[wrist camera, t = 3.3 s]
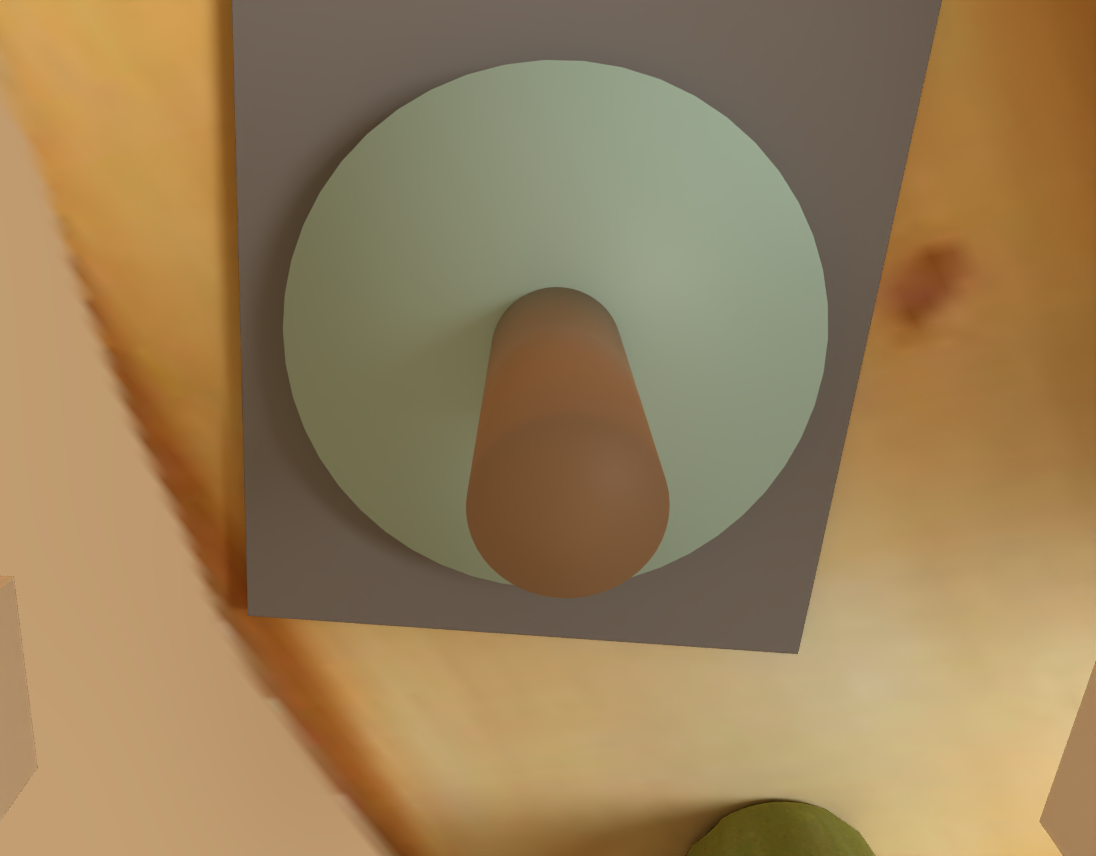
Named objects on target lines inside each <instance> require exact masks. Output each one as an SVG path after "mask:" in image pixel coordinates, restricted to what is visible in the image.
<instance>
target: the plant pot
mask: <svg viewBox="0 0 1096 856" xmlns="http://www.w3.org/2000/svg"><path fill="white" fill-rule="evenodd" d="M686 856H875V854H874V853H873V851H872V850H871V848H870V847H869V845H868V844H867V843H866V841H865V840H864V838H863V837H862V836H861V834H860V833H859V832H858V831H856V830H855V829H854V828H852V827H851V826H850V825H848V824H847V823H845V822H844V821H842V820H841V819H840V818H838V817H837V816H835V815H834V814H832V813H831V812H829V811H828V810H826V809H823V808H820V807H817V806H814V805H810V804H805V803H797V802H770V803H763V804H758V805H754V806H749V807H746V808H743V809H740V810H738V811H735V812H733V813H731V814H729V815H727V816H725V817H723V818H722V819H721V820H720V821H719V822H718V824H717V825H716V826H715V827H714V828H713V829H712V830H711V831H710V832H709V833H708V834H707V835H705V836H704V837H703V838H702V839H700V840H699V841H698V842H696V843H695V844H693V845H692V847H691V848H690V850H689V851H688V853H687V855H686Z"/></svg>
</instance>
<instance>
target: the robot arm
mask: <svg viewBox="0 0 1096 856" xmlns="http://www.w3.org/2000/svg"><path fill="white" fill-rule="evenodd" d="M14 583H15V582H14V577H11V576H0V821H1V819H2V818H3V817H4V815H5V814H6V812H7V811H8V809H9V808H10V807H11V805H12V804H13V802H14V801H15V799H16V798H17V796H18V795H19V794H20V792H21V791H22V789H23V788H24V786H25V785H26V784H27V782H28V781H29V779H30V778H31V776H32V775H33V773H34V772H35V771H36V769H37V768H38V767H37V759H36V751H35V743H34V735H33V727H32V719H31V711H30V703H29V695H28V687H27V679H26V672H25V663H24V655H23V647H22V638H21V631H20V623H19V614H18V606H17V599H16V590H15V584H14ZM1040 823H1041V824H1042V826H1043V827H1044V829H1045V830H1046V832H1047V833H1048V834H1049V836H1050V837H1051V839H1052V840H1053V842H1054V843H1055V845H1056V846H1057V847H1058V849H1059V850H1060V852H1061V853H1062V855H1063V856H1096V662H1095V665H1094V668H1093V671H1092V673H1091V676H1090V679H1089V682H1088V685H1087V688H1086V690H1085V693H1084V696H1083V699H1082V702H1081V705H1080V707H1079V710H1078V713H1077V716H1076V719H1075V722H1074V725H1073V727H1072V730H1071V733H1070V736H1069V739H1068V742H1067V744H1066V747H1065V750H1064V753H1063V756H1062V759H1061V761H1060V764H1059V767H1058V770H1057V773H1056V776H1055V778H1054V781H1053V784H1052V787H1051V790H1050V793H1049V796H1048V798H1047V801H1046V804H1045V807H1044V810H1043V813H1042V815H1041V818H1040Z"/></svg>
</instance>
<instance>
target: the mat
mask: <svg viewBox="0 0 1096 856" xmlns="http://www.w3.org/2000/svg"><path fill="white" fill-rule="evenodd" d="M941 2H942V0H232V21H233V60H234V98H235V137H236V176H237V215H238V254H239V293H240V332H241V371H242V409H243V448H244V487H245V526H246V565H247V604H248V616H260V617H275V618H289V619H303V620H318V621H332V622H346V623H361V624H375V625H389V626H404V627H418V628H432V629H447V630H461V631H475V632H490V633H504V634H518V635H533V636H547V637H561V638H576V639H590V640H604V641H619V642H633V643H647V644H662V645H676V646H690V647H705V648H719V649H733V650H748V651H762V652H776V653H791V654H798V651H799V647H800V642H801V638H802V633H803V629H804V624H805V620H806V615H807V610H808V606H809V601H810V597H811V592H812V588H813V583H814V579H815V574H816V570H817V565H818V560H819V556H820V551H821V547H822V542H823V538H824V533H825V529H826V524H827V520H828V515H829V510H830V506H831V501H832V497H833V492H834V488H835V483H836V479H837V474H838V470H839V465H840V461H841V456H842V451H843V447H844V442H845V438H846V433H847V429H848V424H849V420H850V415H851V411H852V406H853V401H854V397H855V392H856V388H857V383H858V379H859V374H860V370H861V365H862V361H863V356H864V351H865V347H866V342H867V338H868V333H869V329H870V324H871V320H872V315H873V311H874V306H875V302H876V297H877V292H878V288H879V283H880V279H881V274H882V270H883V265H884V261H885V256H886V252H887V247H888V242H889V238H890V233H891V229H892V224H893V220H894V215H895V211H896V206H897V202H898V197H899V192H900V188H901V183H902V179H903V174H904V170H905V165H906V161H907V156H908V152H909V147H910V143H911V138H912V133H913V129H914V124H915V120H916V115H917V111H918V106H919V102H920V97H921V93H922V88H923V83H924V79H925V74H926V70H927V65H928V61H929V56H930V52H931V47H932V43H933V38H934V33H935V29H936V24H937V20H938V15H939V11H940V6H941ZM540 60H566V61H587V62H593V63H599V64H605V65H611V66H617V67H623V68H626V69H629V70H633V71H636V72H639V73H642V74H645V75H648V76H652V77H655V78H658V79H661V80H663V81H665V82H667V83H669V84H671V85H673V86H675V87H677V88H680V89H682V90H684V91H686V92H688V93H690V94H692V95H694V96H696V97H697V98H699V99H700V100H702V101H703V102H705V103H706V104H708V105H709V106H711V107H712V108H714V109H715V110H717V111H718V112H720V113H721V114H723V115H724V116H726V117H727V118H728V119H729V120H731V121H732V122H733V123H734V124H735V125H736V126H737V127H738V128H740V129H741V130H742V131H743V132H744V133H745V134H746V135H747V136H748V137H750V138H751V139H752V140H753V141H754V142H755V143H756V144H757V145H758V146H759V148H760V149H761V150H762V151H763V152H764V154H765V155H766V156H767V157H768V158H769V160H770V161H771V162H772V163H773V164H774V166H775V167H776V168H777V169H778V170H779V172H780V173H781V175H782V176H783V178H784V180H785V181H786V183H787V184H788V186H789V188H790V189H791V191H792V192H793V194H794V196H795V197H796V199H797V200H798V202H799V204H800V207H801V209H802V211H803V213H804V216H805V218H806V220H807V222H808V225H809V227H810V229H811V231H812V234H813V236H814V240H815V243H816V247H817V250H818V254H819V257H820V261H821V264H822V268H823V273H824V280H825V288H826V295H827V302H828V342H827V350H826V357H825V365H824V373H823V376H822V380H821V384H820V388H819V391H818V395H817V399H816V402H815V406H814V408H813V411H812V413H811V416H810V418H809V420H808V423H807V425H806V428H805V430H804V432H803V435H802V437H801V439H800V441H799V442H798V444H797V446H796V448H795V449H794V451H793V453H792V455H791V456H790V458H789V460H788V461H787V463H786V465H785V466H784V468H783V469H782V470H781V472H780V473H779V474H778V476H777V477H776V478H775V480H774V481H773V482H772V484H771V485H770V486H769V488H768V489H767V490H766V492H765V493H764V494H763V495H762V496H761V497H760V498H759V499H758V500H757V501H756V502H755V503H754V504H753V505H752V506H751V507H750V508H749V509H748V510H747V511H746V512H745V513H744V514H743V516H741V517H740V518H739V519H738V520H736V521H735V522H734V523H733V524H731V525H730V526H729V527H728V528H727V529H725V530H724V531H723V532H722V533H720V534H719V535H718V536H717V537H715V538H713V539H712V540H710V541H709V542H707V543H705V544H704V545H702V546H701V547H699V548H698V549H696V550H694V551H693V552H691V553H690V554H688V555H685V556H683V557H681V558H679V559H677V560H675V561H673V562H671V563H669V564H667V565H665V566H662V567H660V568H657V569H655V570H652V571H649V572H646V573H643V574H640V575H637V576H634V577H631V578H630V579H628V580H627V581H625V582H623V583H622V584H620V585H618V586H616V587H614V588H612V589H610V590H607V591H604V592H602V593H599V594H595V595H591V596H586V597H578V598H555V597H547V596H542V595H538V594H534V593H531V592H529V591H526V590H523V589H521V588H519V587H517V586H515V585H509V584H502V583H498V582H494V581H490V580H486V579H482V578H478V577H474V576H470V575H467V574H465V573H462V572H459V571H457V570H454V569H451V568H449V567H446V566H443V565H441V564H439V563H437V562H435V561H433V560H431V559H429V558H427V557H425V556H423V555H421V554H419V553H417V552H416V551H414V550H412V549H410V548H409V547H407V546H406V545H404V544H403V543H401V542H400V541H398V540H397V539H396V538H394V537H393V536H391V535H390V534H388V533H387V532H385V531H384V530H383V529H382V528H381V527H379V526H378V525H377V524H376V523H375V522H374V521H373V520H371V519H370V518H369V517H368V516H367V515H366V514H365V513H363V512H362V511H361V510H360V509H359V508H358V507H357V506H356V504H355V503H354V502H353V501H352V500H351V499H350V498H349V497H348V495H347V494H346V493H345V492H344V491H343V490H342V489H341V488H340V487H339V485H338V484H337V483H336V481H335V480H334V478H333V477H332V475H331V474H330V472H329V471H328V470H327V468H326V467H325V465H324V464H323V462H322V461H321V459H320V458H319V456H318V454H317V452H316V450H315V448H314V446H313V444H312V442H311V440H310V439H309V437H308V435H307V433H306V431H305V429H304V426H303V423H302V421H301V418H300V415H299V412H298V410H297V407H296V404H295V401H294V399H293V395H292V390H291V386H290V381H289V377H288V372H287V368H286V362H285V350H284V337H283V317H284V299H285V290H286V285H287V280H288V275H289V270H290V265H291V260H292V256H293V254H294V251H295V248H296V245H297V242H298V239H299V236H300V233H301V230H302V227H303V225H304V223H305V221H306V219H307V217H308V215H309V213H310V211H311V209H312V207H313V205H314V203H315V201H316V199H317V197H318V195H319V193H320V192H321V190H322V189H323V187H324V186H325V184H326V183H327V182H328V180H329V179H330V177H331V176H332V174H333V173H334V172H335V170H336V169H337V167H338V166H339V164H340V163H341V162H342V160H343V159H344V158H345V157H346V156H347V155H348V154H349V153H350V152H351V151H352V150H353V149H354V148H355V147H356V145H357V144H358V143H359V142H360V141H361V140H362V139H363V138H364V137H365V136H366V135H367V134H368V133H369V132H370V131H372V130H373V129H374V128H375V127H376V126H378V125H379V124H380V123H381V122H383V121H384V120H385V119H386V118H388V117H389V116H390V115H391V114H393V113H394V112H395V111H396V110H398V109H399V108H401V107H403V106H404V105H406V104H408V103H409V102H411V101H413V100H414V99H416V98H418V97H419V96H421V95H423V94H424V93H426V92H428V91H429V90H431V89H434V88H436V87H439V86H441V85H443V84H446V83H448V82H450V81H453V80H455V79H458V78H460V77H462V76H465V75H467V74H471V73H475V72H479V71H482V70H486V69H490V68H494V67H498V66H501V65H506V64H514V63H523V62H531V61H540Z"/></svg>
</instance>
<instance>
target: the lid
mask: <svg viewBox="0 0 1096 856" xmlns="http://www.w3.org/2000/svg"><path fill="white" fill-rule="evenodd" d="M283 337H284V350H285V362H286V368H287V372H288V377H289V381H290V386H291V390H292V395H293V399H294V401H295V404H296V407H297V410H298V412H299V415H300V418H301V421H302V423H303V426H304V429H305V431H306V433H307V435H308V437H309V439H310V440H311V442H312V444H313V446H314V448H315V450H316V452H317V454H318V456H319V458H320V459H321V461H322V462H323V464H324V465H325V467H326V468H327V470H328V471H329V472H330V474H331V475H332V477H333V478H334V480H335V481H336V483H337V484H338V485H339V487H340V488H341V489H342V490H343V491H344V492H345V493H346V494H347V495H348V497H349V498H350V499H351V500H352V501H353V502H354V503H355V504H356V506H357V507H358V508H359V509H360V510H361V511H362V512H363V513H365V514H366V515H367V516H368V517H369V518H370V519H371V520H373V521H374V522H375V523H376V524H377V525H378V526H379V527H381V528H382V529H383V530H384V531H385V532H387V533H388V534H390V535H391V536H393V537H394V538H396V539H397V540H398V541H400V542H401V543H403V544H404V545H406V546H407V547H409V548H410V549H412V550H414V551H416V552H417V553H419V554H421V555H423V556H425V557H427V558H429V559H431V560H433V561H435V562H437V563H439V564H441V565H443V566H446V567H449V568H451V569H454V570H457V571H459V572H462V573H465V574H467V575H470V576H474V577H478V578H482V579H486V580H490V581H494V582H498V583H502V584H509V585H515V586H517V587H519V588H521V589H523V590H526V591H529V592H531V593H534V594H538V595H542V596H547V597H555V598H578V597H586V596H591V595H595V594H599V593H602V592H604V591H607V590H610V589H612V588H614V587H616V586H618V585H620V584H622V583H623V582H625V581H627V580H628V579H630V578H631V577H634V576H637V575H640V574H643V573H646V572H649V571H652V570H655V569H657V568H660V567H662V566H665V565H667V564H669V563H671V562H673V561H675V560H677V559H679V558H681V557H683V556H685V555H688V554H690V553H691V552H693V551H694V550H696V549H698V548H699V547H701V546H702V545H704V544H705V543H707V542H709V541H710V540H712V539H713V538H715V537H717V536H718V535H719V534H720V533H722V532H723V531H724V530H725V529H727V528H728V527H729V526H730V525H731V524H733V523H734V522H735V521H736V520H738V519H739V518H740V517H741V516H743V514H744V513H745V512H746V511H747V510H748V509H749V508H750V507H751V506H752V505H753V504H754V503H755V502H756V501H757V500H758V499H759V498H760V497H761V496H762V495H763V494H764V493H765V492H766V490H767V489H768V488H769V486H770V485H771V484H772V482H773V481H774V480H775V478H776V477H777V476H778V474H779V473H780V472H781V470H782V469H783V468H784V466H785V465H786V463H787V461H788V460H789V458H790V456H791V455H792V453H793V451H794V449H795V448H796V446H797V444H798V442H799V441H800V439H801V437H802V435H803V432H804V430H805V428H806V425H807V423H808V420H809V418H810V416H811V413H812V411H813V408H814V406H815V402H816V399H817V395H818V391H819V388H820V384H821V380H822V376H823V373H824V365H825V357H826V350H827V342H828V302H827V295H826V288H825V280H824V273H823V268H822V264H821V261H820V257H819V254H818V250H817V247H816V243H815V240H814V236H813V234H812V231H811V229H810V227H809V225H808V222H807V220H806V218H805V216H804V213H803V211H802V209H801V207H800V204H799V202H798V200H797V199H796V197H795V196H794V194H793V192H792V191H791V189H790V188H789V186H788V184H787V183H786V181H785V180H784V178H783V176H782V175H781V173H780V172H779V170H778V169H777V168H776V167H775V166H774V164H773V163H772V162H771V161H770V160H769V158H768V157H767V156H766V155H765V154H764V152H763V151H762V150H761V149H760V148H759V146H758V145H757V144H756V143H755V142H754V141H753V140H752V139H751V138H750V137H748V136H747V135H746V134H745V133H744V132H743V131H742V130H741V129H740V128H738V127H737V126H736V125H735V124H734V123H733V122H732V121H731V120H729V119H728V118H727V117H726V116H724V115H723V114H721V113H720V112H718V111H717V110H715V109H714V108H712V107H711V106H709V105H708V104H706V103H705V102H703V101H702V100H700V99H699V98H697V97H696V96H694V95H692V94H690V93H688V92H686V91H684V90H682V89H680V88H677V87H675V86H673V85H671V84H669V83H667V82H665V81H663V80H661V79H658V78H655V77H652V76H648V75H645V74H642V73H639V72H636V71H633V70H629V69H626V68H623V67H617V66H611V65H605V64H599V63H593V62H587V61H566V60H540V61H531V62H523V63H514V64H506V65H501V66H498V67H494V68H490V69H486V70H482V71H479V72H475V73H471V74H467V75H465V76H462V77H460V78H458V79H455V80H453V81H450V82H448V83H446V84H443V85H441V86H439V87H436V88H434V89H431V90H429V91H428V92H426V93H424V94H423V95H421V96H419V97H418V98H416V99H414V100H413V101H411V102H409V103H408V104H406V105H404V106H403V107H401V108H399V109H398V110H396V111H395V112H394V113H393V114H391V115H390V116H389V117H388V118H386V119H385V120H384V121H383V122H381V123H380V124H379V125H378V126H376V127H375V128H374V129H373V130H372V131H370V132H369V133H368V134H367V135H366V136H365V137H364V138H363V139H362V140H361V141H360V142H359V143H358V144H357V145H356V147H355V148H354V149H353V150H352V151H351V152H350V153H349V154H348V155H347V156H346V157H345V158H344V159H343V160H342V162H341V163H340V164H339V166H338V167H337V169H336V170H335V172H334V173H333V174H332V176H331V177H330V179H329V180H328V182H327V183H326V184H325V186H324V187H323V189H322V190H321V192H320V193H319V195H318V197H317V199H316V201H315V203H314V205H313V207H312V209H311V211H310V213H309V215H308V217H307V219H306V221H305V223H304V225H303V227H302V230H301V233H300V236H299V239H298V242H297V245H296V248H295V251H294V254H293V256H292V260H291V265H290V270H289V275H288V280H287V285H286V290H285V299H284V317H283Z"/></svg>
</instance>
